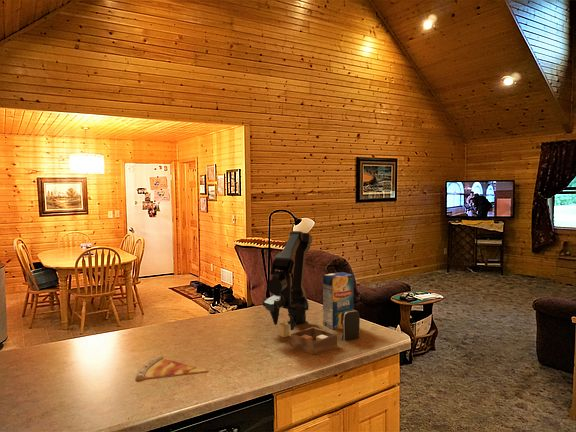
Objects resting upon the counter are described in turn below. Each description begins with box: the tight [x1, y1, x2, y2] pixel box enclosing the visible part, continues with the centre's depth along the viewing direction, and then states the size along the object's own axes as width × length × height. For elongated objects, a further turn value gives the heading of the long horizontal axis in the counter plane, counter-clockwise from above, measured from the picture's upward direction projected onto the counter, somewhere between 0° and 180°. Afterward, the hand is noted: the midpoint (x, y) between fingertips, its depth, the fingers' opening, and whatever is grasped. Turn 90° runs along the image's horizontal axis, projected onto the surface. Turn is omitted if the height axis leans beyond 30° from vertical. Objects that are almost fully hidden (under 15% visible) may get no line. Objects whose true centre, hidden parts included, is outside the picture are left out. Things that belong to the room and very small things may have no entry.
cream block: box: [316, 335, 328, 341], centre depth 160 cm, size 4×4×4 cm
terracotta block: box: [300, 335, 312, 340], centre depth 160 cm, size 4×4×4 cm
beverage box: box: [322, 271, 355, 330], centre depth 183 cm, size 7×11×22 cm, turn 121°
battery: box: [341, 309, 361, 342], centre depth 168 cm, size 7×4×11 cm, turn 118°
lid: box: [277, 321, 290, 338], centre depth 171 cm, size 13×13×6 cm
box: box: [290, 326, 338, 356], centre depth 160 cm, size 12×12×5 cm
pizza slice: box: [135, 354, 209, 381], centre depth 138 cm, size 16×22×2 cm
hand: (283, 327), depth 171 cm, fingers open, 9 cm apart
